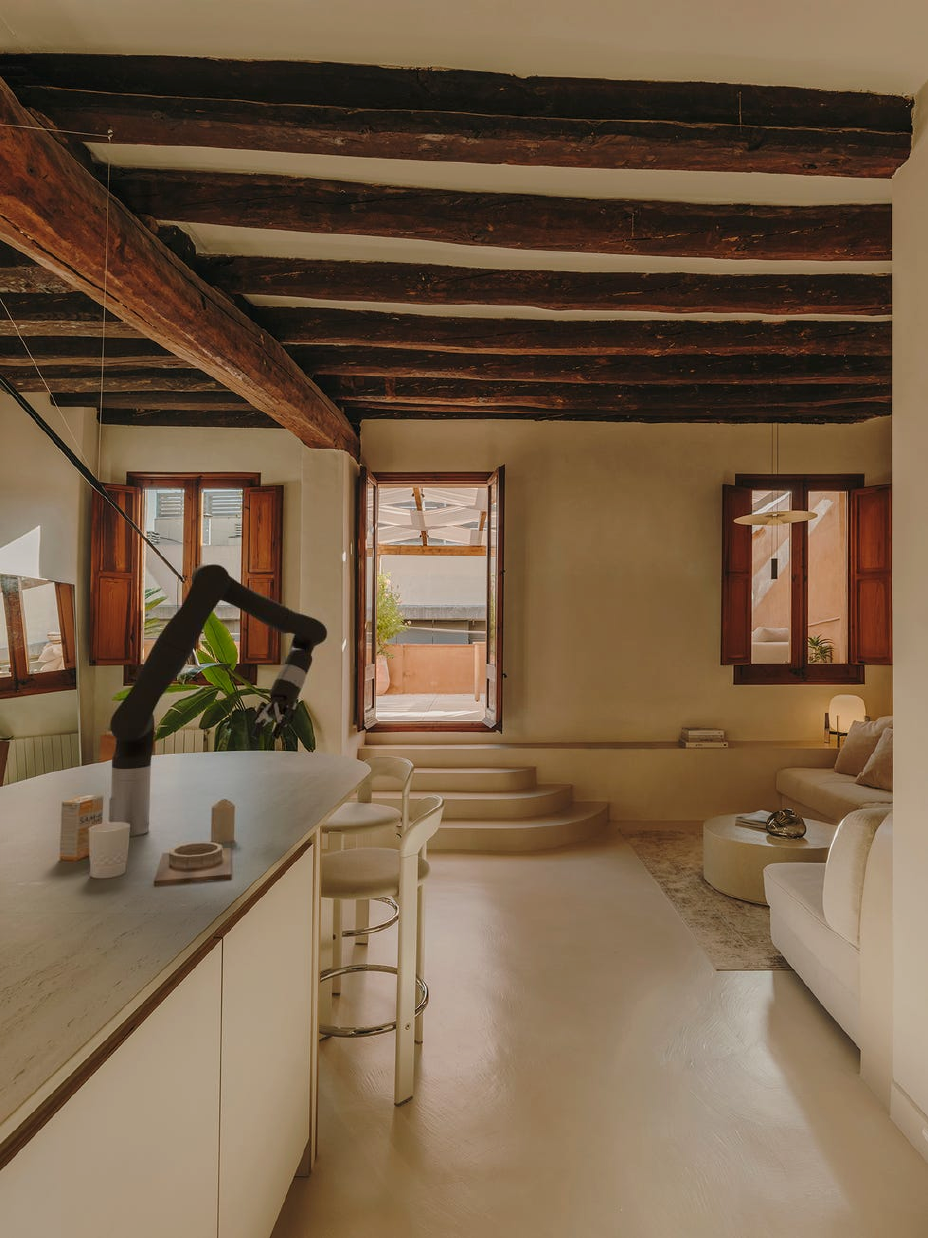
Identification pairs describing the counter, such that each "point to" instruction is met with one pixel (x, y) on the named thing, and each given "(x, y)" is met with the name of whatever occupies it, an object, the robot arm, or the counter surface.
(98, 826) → the white cup
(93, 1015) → the counter surface
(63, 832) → the supplement box
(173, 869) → the candle holder tray
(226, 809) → the candle
